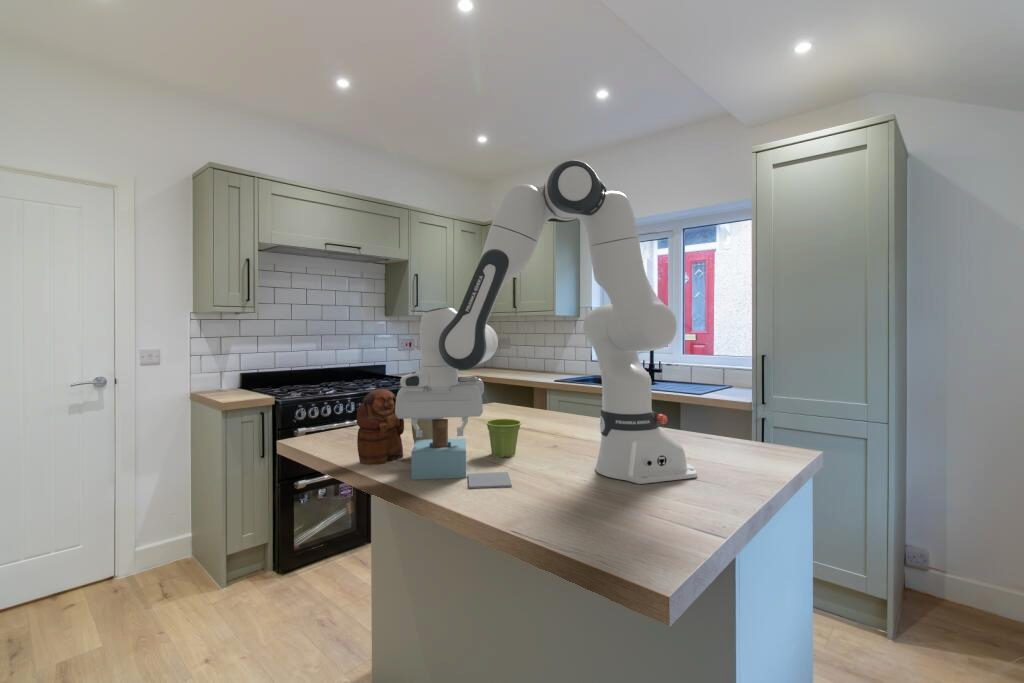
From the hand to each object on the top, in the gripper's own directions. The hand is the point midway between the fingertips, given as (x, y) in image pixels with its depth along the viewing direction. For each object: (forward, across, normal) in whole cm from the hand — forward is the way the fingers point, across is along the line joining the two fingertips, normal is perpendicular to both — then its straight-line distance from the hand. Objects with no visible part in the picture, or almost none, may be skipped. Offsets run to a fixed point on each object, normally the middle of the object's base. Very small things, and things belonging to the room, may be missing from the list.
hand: (440, 436), depth 113 cm
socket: (+8, 0, 0) cm, 8 cm away
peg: (+8, 0, 0) cm, 8 cm away
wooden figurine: (+8, +15, -11) cm, 20 cm away
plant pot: (+8, -16, -12) cm, 22 cm away
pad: (+8, -11, +9) cm, 16 cm away
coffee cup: (+8, +4, -13) cm, 16 cm away
